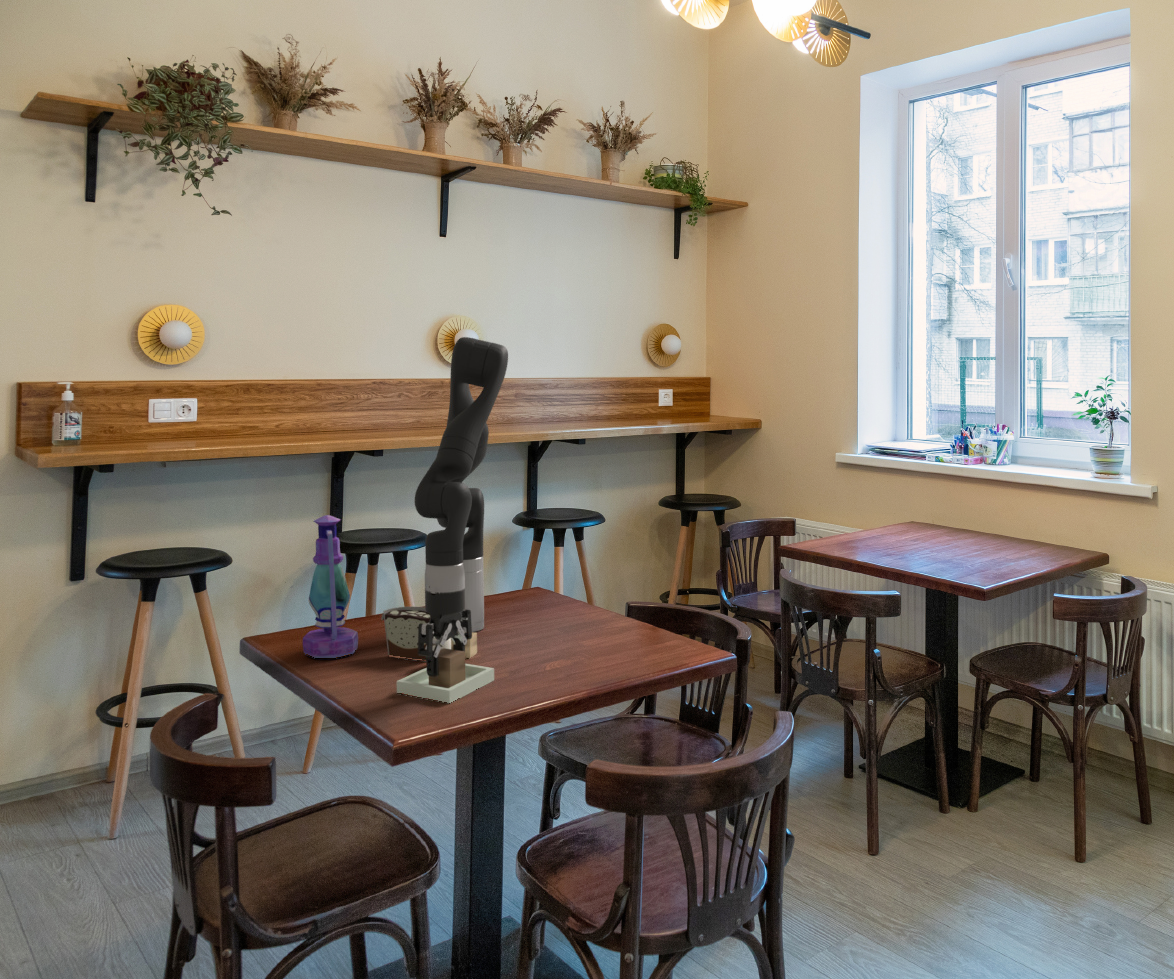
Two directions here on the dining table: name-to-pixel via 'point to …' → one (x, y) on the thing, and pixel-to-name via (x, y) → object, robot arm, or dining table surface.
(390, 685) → the dining table surface
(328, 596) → the lantern
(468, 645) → the oak cube
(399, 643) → the food container
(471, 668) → the tray
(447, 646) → the ceramic shaker
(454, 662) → the walnut block
